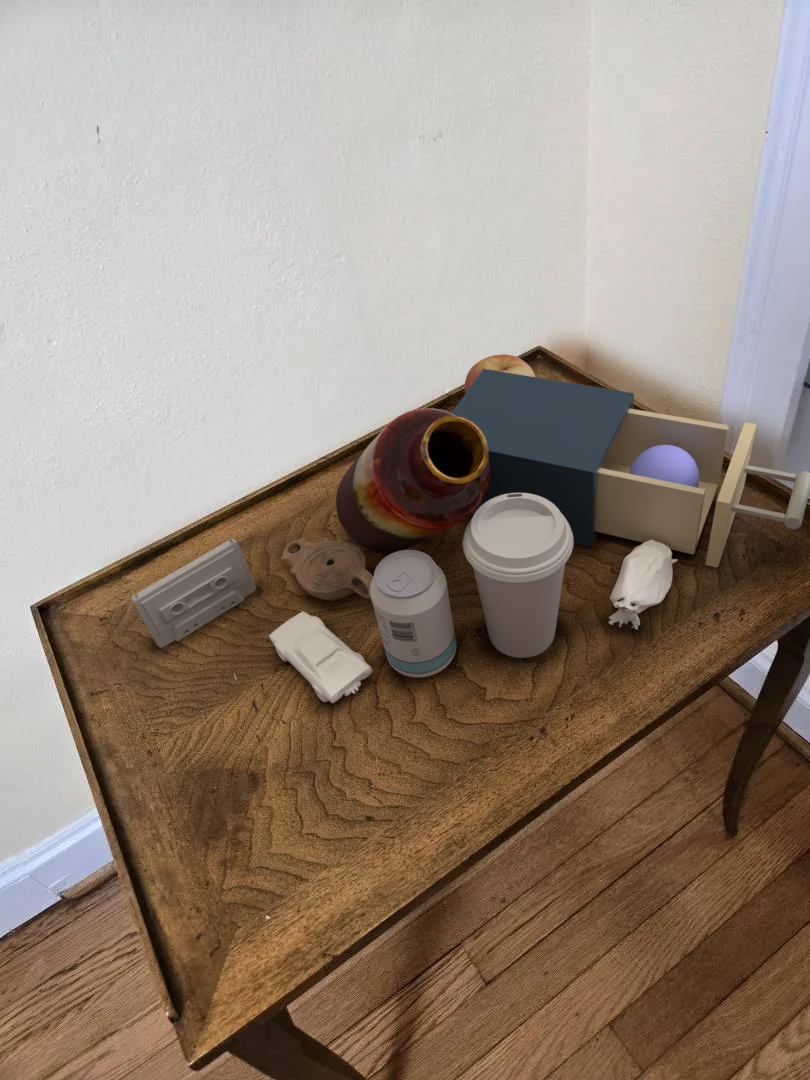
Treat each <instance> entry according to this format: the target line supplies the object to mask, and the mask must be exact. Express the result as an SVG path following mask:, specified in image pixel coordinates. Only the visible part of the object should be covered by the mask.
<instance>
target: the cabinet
mask: <svg viewBox="0 0 810 1080" xmlns="http://www.w3.org/2000/svg"><path fill="white" fill-rule="evenodd" d="M634 401H635V393H634V392H629V391H624V390H618V389H610V388H604V387H600V386H593V385H586V384H581V383H573V382H567V381H561V380H555V379H547V378H543V377H537V376H535V377H531V376H525V375H519V374H512V373H506V372H500V371H494V370H488V369H483V370H482V372H481V373H480V374H479V376H478V377H477V379H476V380H475V381H474V383H473V384H472V386H471V387H470V388H469V390H468V391H467V393H466V394H464V395H463V397H462V398H461V399H460V400H459V402H458V404H457V405H456V407H455V408H454V409H453V410H452V412H451V413H452V414H454V415H456V416H461V417H464V418H467V419H468V420H470V421H472V422H473V423H475V424H476V425H477V426H478V427H479V428H480V430H481V431H482V432H483V434H484V436H485V438H486V440H487V444H488V450H489V455H488V459H489V464H490V480H489V485H488V489H487V492H486V495H485V497H484V499H483V501H482V502H481V504H480V506H481V505H483V504H484V503H485V502H487V501H488V500H490V499H492V498H495V497H497V496H500V495H504V494H509V493H529V494H534V495H538V496H540V497H543V498H545V499H547V500H549V501H550V502H552V503H553V504H554V505H555V506H556V507H557V508H558V509H559V511H560V512H561V513H562V515H563V516H564V517H565V518H566V520H567V522H568V523H569V525H570V528H571V530H572V533H573V538H574V544H577V545H580V546H584V547H588V548H593V546H594V543H595V541H596V539H597V537H598V535H599V533H600V532H597V531H594V528H595V498H596V473H597V471H598V469H599V467H600V465H601V463H602V461H603V459H604V457H605V455H606V453H607V451H608V449H609V447H610V445H611V443H612V441H613V439H614V437H615V435H616V433H617V431H618V429H619V427H620V425H621V423H622V421H623V419H624V417H625V415H626V413H627V411H628V410H629V408H630V409H634V404H635V403H634ZM480 506H479V507H480ZM479 507H478V508H479ZM478 508H477V509H476V510H475V511H474V513H473V514H472V515H470V516H469V517H468V518H471V519H472V517H473V516H474V514H475V512H476V511H477V510H478Z"/></svg>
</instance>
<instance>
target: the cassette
mask: <svg viewBox="0 0 810 1080" xmlns="http://www.w3.org/2000/svg"><path fill="white" fill-rule="evenodd" d="M240 547H241V546H240V544H239V543H238V542H237V541H236V539H235V538H230V539H228V540H226V541H224V542H223V543H221V544H220V545H218V546H215V547H214V548H212V549H211V550H209V551H206V553H204V554H202V555H200V556H199V557H197V558H196V559H193V560H192V561H190V562H189V563H187V564H185V565H182V566H181V567H180V568H178V569H176V570H174V571H173V572H171V573H169V574H168V575H166V576H165V577H162V578H161V579H159V580H157V581H155V582H153V583H152V584H150V585H149V586H147V587H145V588H143V589H142V590H140V591H138V592H137V593H135V594H133V595H131V597H130V601H131V602H132V604H133V606H134V608H135V609H136V611H137V613H138V615H139V616H140V618H141V619H142V621H143V623H144V624H145V627H146V628H147V629H148V632H149V633H150V636H151V638H152V639H153V641H154V643H155V644H156V646H157V647H159V648H160V649H162V648H165V647H167V646H168V645H170V644H171V643H173V642H174V641H177V642H179V641H180V640H183V638H185V637H187V636H188V635H191V634H192V633H194V632H195V631H196V630H198V629H200V628H201V627H203V626H205V625H206V624H208V623H210V622H212V621H213V620H214V619H216V618H218V617H219V616H221V615H223V614H225V613H226V612H228V611H229V610H230V609H232V608H235V607H236V606H237V605H239V604H241V603H242V602H244V601H245V598H246V597H249V595H251V594H253V593H254V592H256V591H257V586H256V582H255V581H254V577H253V576H252V574H251V571H250V569H249V566H248V564H247V561H246V559H245V557H244V554H243V552H242V549H241V548H240Z"/></svg>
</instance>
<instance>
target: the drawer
mask: <svg viewBox="0 0 810 1080" xmlns="http://www.w3.org/2000/svg"><path fill="white" fill-rule="evenodd" d="M757 425H758V424H757V423H752V422H746V421H744V422H743V425H742V428H741V431H740V433H739V436H738V440H737V442H736V445H735V448H734V451H733V454H732V456H731V458H730V462H729V465H728V468H727V471H726V473H725V476H724V479H723V482H722V484H721V488H720V491H719V493H718V496H717V499H716V503H715V507H714V513H713V520H712V524H711V531H710V536H709V541H708V547H707V553H706V558H705V566H708V567H709V566H710V567H713V568H718V567H719V564H720V562H721V558H722V556H723V553H724V550H725V546H726V543H727V540H728V537H729V534H730V531H731V528H732V525H733V521H734V520H735V515H736V513H739V514H743V515H748V516H752V517H756V518H757V517H758V518H761V519H762V518H763V519H766V520H771V521H776V522H781V523H783V524H784V526H785V527H786V528H788V529H790V530H797V529H799V528H800V527H802V523H803V520H804V516H805V513H806V512H805V511H806V507H807V503H808V500H809V496H810V471H807V470H802V471H798V473H797V474H796V473H792V472H787V471H782V470H775V469H770V468H765V467H760V466H755V465H750V459H751V455H752V451H753V450H752V449H753V446H754V440H755V435H756V431H757ZM729 428H730V425H729V424H722V423H718V422H712V421H706V420H700V419H693V418H688V417H683V416H676V415H670V414H664V413H658V412H651V411H648V410H647V411H646V410H640V409H636V408H635V409H634V408H633V409H630V408H629V410H628V411H627V413H626V415H625V417H624V419H623V421H622V423H621V425H620V427H619V429H618V431H617V433H616V435H615V437H614V439H613V441H612V443H611V445H610V447H609V449H608V451H607V453H606V455H605V457H604V459H603V461H602V463H601V465H600V467H599V469H598V471H597V473H596V498H595V528H594V531H597V532H599V533H601V534H606V535H610V536H613V537H618V538H621V539H622V538H623V539H626V540H631V541H634V542H639V543H642V544H643V543H644V542H647V541H649V540H654V541H656V542H660V543H662V544H664V545H666V546H668V547H669V548H670V550H671V551H672V550H673V551H677V552H681V553H686V554H689V555H695V553H696V550H697V547H698V544H699V542H700V538H701V536H702V533H703V530H704V527H705V525H706V521H707V519H708V516H709V514H710V511H711V508H712V505H713V502H714V499H715V496H716V494H717V491H718V488H719V487H720V486H719V485H720V479H721V475H722V474H721V473H722V468H723V462H724V458H725V452H726V445H727V441H728V434H729ZM657 445H672V446H676V447H679V448H681V449H683V450H684V451H686V452H687V453H688V454H689V455H690V456H691V457H692V458H693V459H694V461H695V463H696V465H697V468H698V471H699V483H698V488H697V487H692V486H687V485H682V484H677V483H672V482H667V481H662V480H658V479H653V478H648V477H643V476H638V475H633V474H630V470H631V466H632V464H633V462H634V461H635V460H636V458H637V457H638V456H639V455H640V454H641V453H642V452H644V451H645V450H647V449H649V448H651V447H654V446H657ZM747 474H750V475H756V476H761V477H765V478H771V479H777V480H781V481H787V482H792V483H793V487H792V490H791V494H790V497H789V502H788V505H787V509H786V513H782V512H777V511H773V510H768V509H763V508H758V507H754V506H748V505H745V504H740V501H741V497H742V495H743V492H744V488H745V483H746V478H747Z"/></svg>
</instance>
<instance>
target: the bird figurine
mask: <svg viewBox="0 0 810 1080" xmlns="http://www.w3.org/2000/svg"><path fill="white" fill-rule="evenodd" d="M672 556H673V552H672V549H670V548H669V547H668V546H666V545H664V544H662V543H660V542H656V541H654V540H649V541H647V542H644V543H643V542H642V543H641V544H640V545H637V546H635V547H633V549H632V550H631V552H630V553H629V554H627V555H626V556H625V557H624V559H623V560H622V564H621V568H620V571H619V573H618V577H617V579H616V582H615V584H614V587H613V589H612V591H611V594H610V596H609V600H610V601H611V603H612V604H613V605H612V606H613V607H614V608H616V609H618V610H616V611H615V612H614V613H612V614H611V615H610V616H608V619H609V620H608V624H609V625H610V626H613V625H614V623H619V625H618V627H619V628H622V625H623V624H625V625H628V623H629V622H631V624H632V625H633V626H631V627H630V628H631V629H633V628H634V630H637V631H639V626H640V625H641V622H640V618H639V615H638V614H641V613H642V612H644V611H645V610H647V609H648V608H649V607H654V606H656V605H658V604H660V603H662V602H663V600H664V599H665V598H666V595H667V594H668V593H669V591H670V588H671V587H672V582H673V578H674V571H673V564H675V563H677V562H678V561H679V559H678V558H673V557H672Z"/></svg>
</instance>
